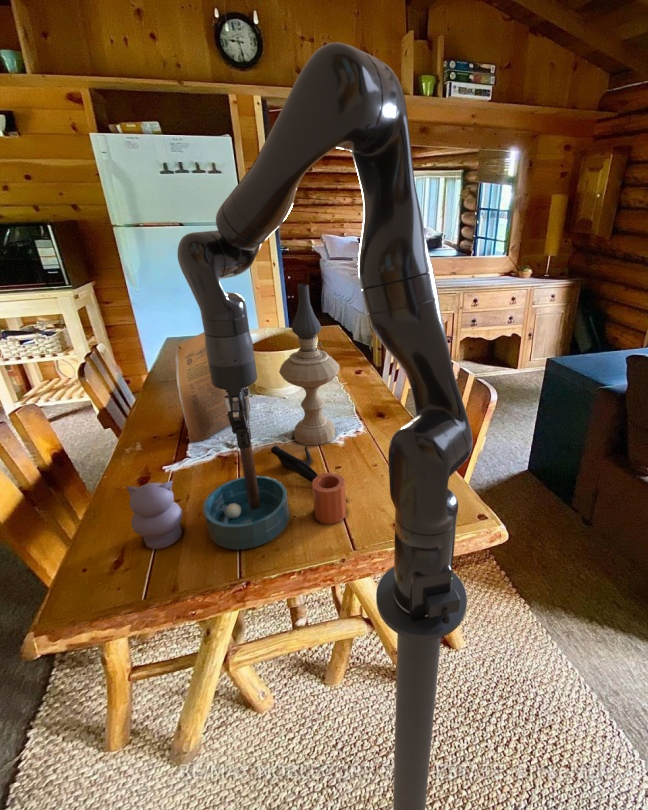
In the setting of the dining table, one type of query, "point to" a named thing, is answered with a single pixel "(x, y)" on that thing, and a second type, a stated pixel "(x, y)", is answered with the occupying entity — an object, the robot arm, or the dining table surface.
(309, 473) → the black elongated part
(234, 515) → the ball
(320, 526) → the dining table surface
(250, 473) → the stick
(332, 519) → the holder
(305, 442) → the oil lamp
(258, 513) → the bowl
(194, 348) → the pancake mix bag
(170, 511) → the cat figurine
